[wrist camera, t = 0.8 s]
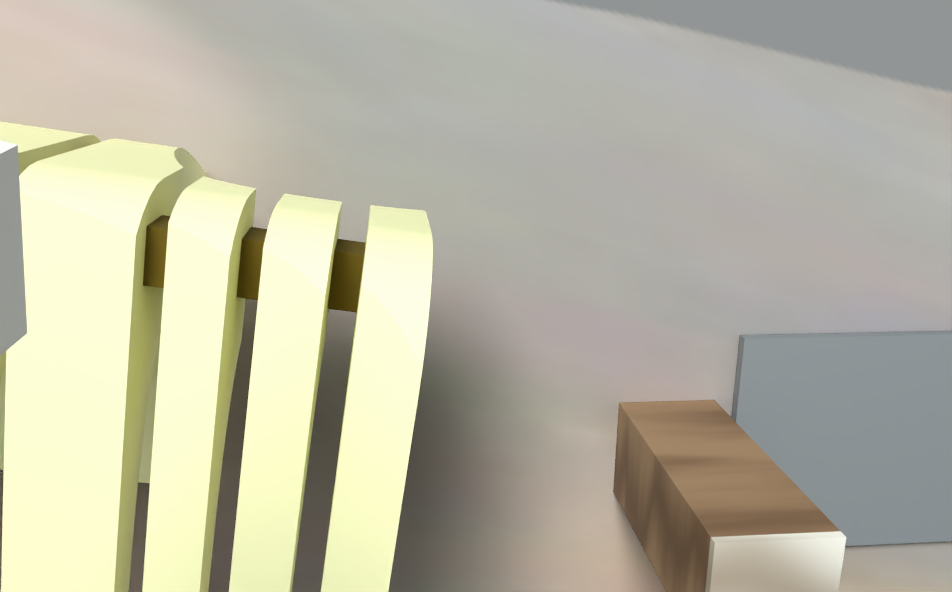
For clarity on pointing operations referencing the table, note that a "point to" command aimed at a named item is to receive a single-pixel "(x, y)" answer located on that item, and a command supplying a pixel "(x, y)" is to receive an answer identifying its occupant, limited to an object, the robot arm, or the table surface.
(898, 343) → the mat
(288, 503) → the slatted curved stool
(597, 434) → the table surface
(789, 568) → the walnut block
